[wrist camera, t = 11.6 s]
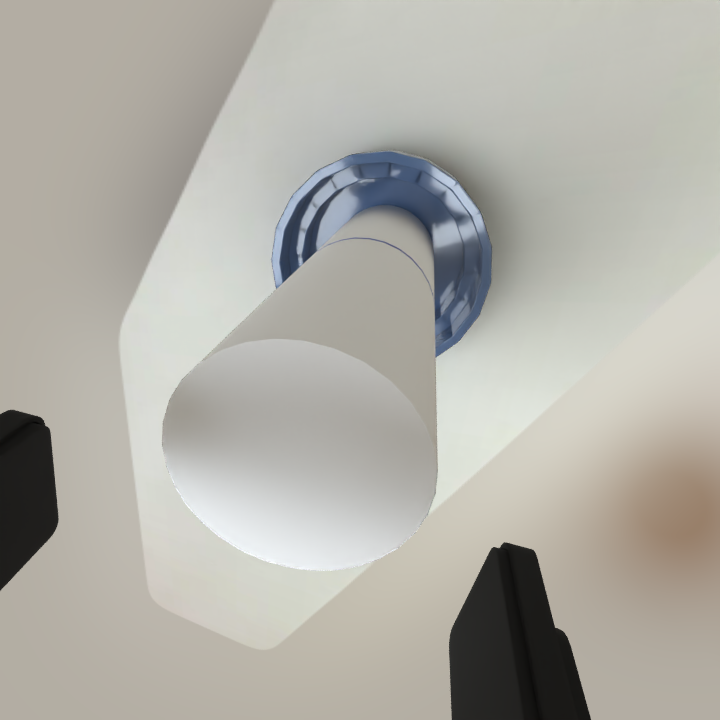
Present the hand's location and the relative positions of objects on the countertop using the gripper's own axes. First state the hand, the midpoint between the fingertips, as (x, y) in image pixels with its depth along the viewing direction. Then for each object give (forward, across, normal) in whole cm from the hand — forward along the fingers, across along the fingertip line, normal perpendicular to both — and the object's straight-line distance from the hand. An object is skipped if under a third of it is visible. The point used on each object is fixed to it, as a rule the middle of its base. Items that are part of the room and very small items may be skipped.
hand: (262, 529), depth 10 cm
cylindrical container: (+28, 0, 0) cm, 28 cm away
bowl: (+28, 0, +1) cm, 28 cm away
